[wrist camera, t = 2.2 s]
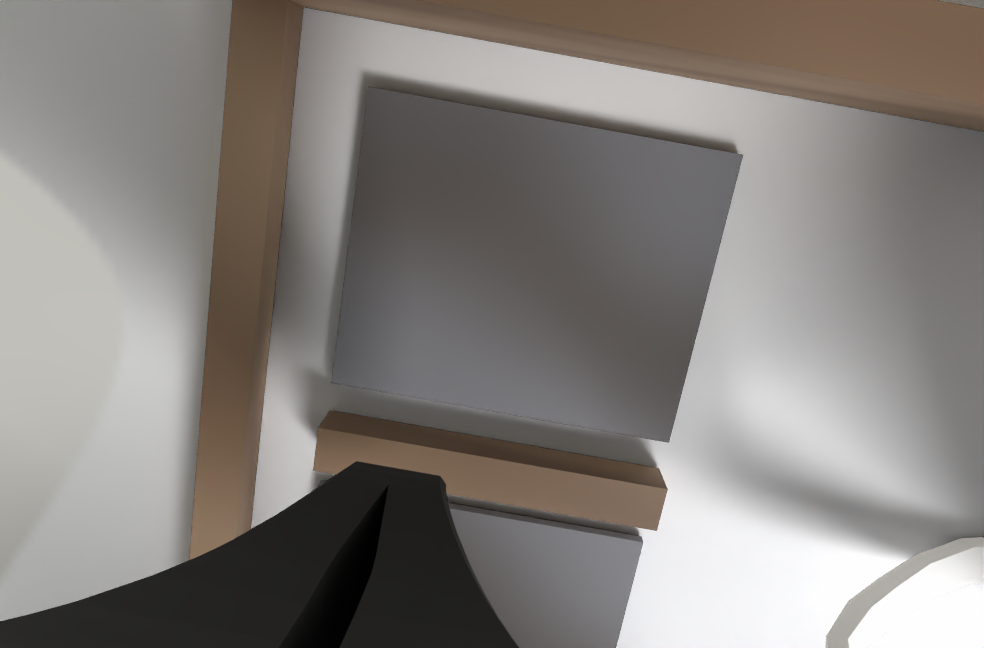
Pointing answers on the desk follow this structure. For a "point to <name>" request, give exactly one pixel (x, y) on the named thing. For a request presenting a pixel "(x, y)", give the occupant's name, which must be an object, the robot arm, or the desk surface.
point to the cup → (907, 591)
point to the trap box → (527, 263)
